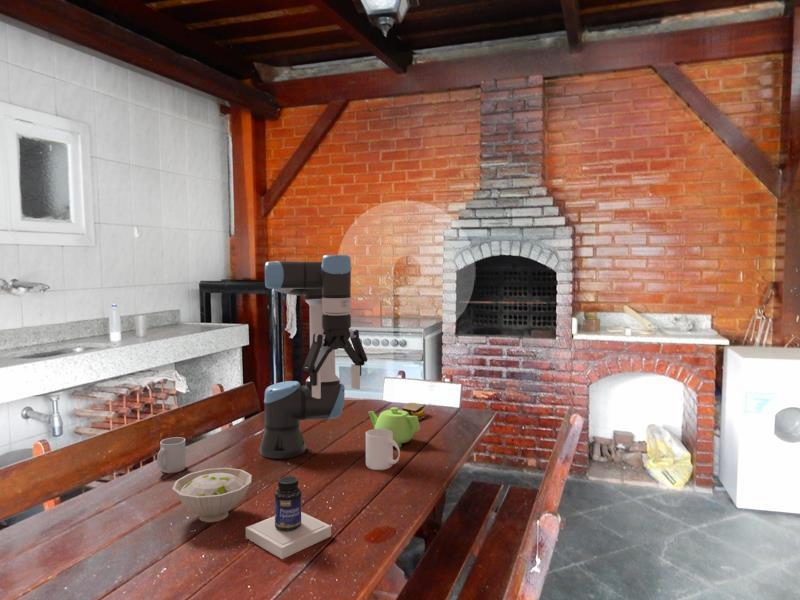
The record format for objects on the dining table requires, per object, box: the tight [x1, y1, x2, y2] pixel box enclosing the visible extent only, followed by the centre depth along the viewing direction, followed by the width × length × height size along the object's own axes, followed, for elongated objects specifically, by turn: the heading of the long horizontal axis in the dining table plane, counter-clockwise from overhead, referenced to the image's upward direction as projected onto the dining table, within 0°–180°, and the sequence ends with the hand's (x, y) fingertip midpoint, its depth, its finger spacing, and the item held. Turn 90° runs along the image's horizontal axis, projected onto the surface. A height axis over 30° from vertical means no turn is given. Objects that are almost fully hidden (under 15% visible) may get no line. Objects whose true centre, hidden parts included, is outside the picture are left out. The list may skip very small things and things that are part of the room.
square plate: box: [245, 511, 332, 560], centre depth 132 cm, size 14×14×3 cm
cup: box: [156, 436, 187, 474], centre depth 173 cm, size 7×10×9 cm
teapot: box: [368, 406, 421, 448], centre depth 201 cm, size 20×13×13 cm
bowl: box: [171, 467, 253, 523], centre depth 142 cm, size 19×19×10 cm
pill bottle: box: [274, 475, 302, 531], centre depth 131 cm, size 6×6×11 cm
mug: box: [365, 428, 401, 471], centre depth 177 cm, size 9×12×11 cm
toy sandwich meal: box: [401, 402, 426, 421], centre depth 234 cm, size 12×14×5 cm
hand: (336, 393), depth 150 cm, fingers open, 13 cm apart
